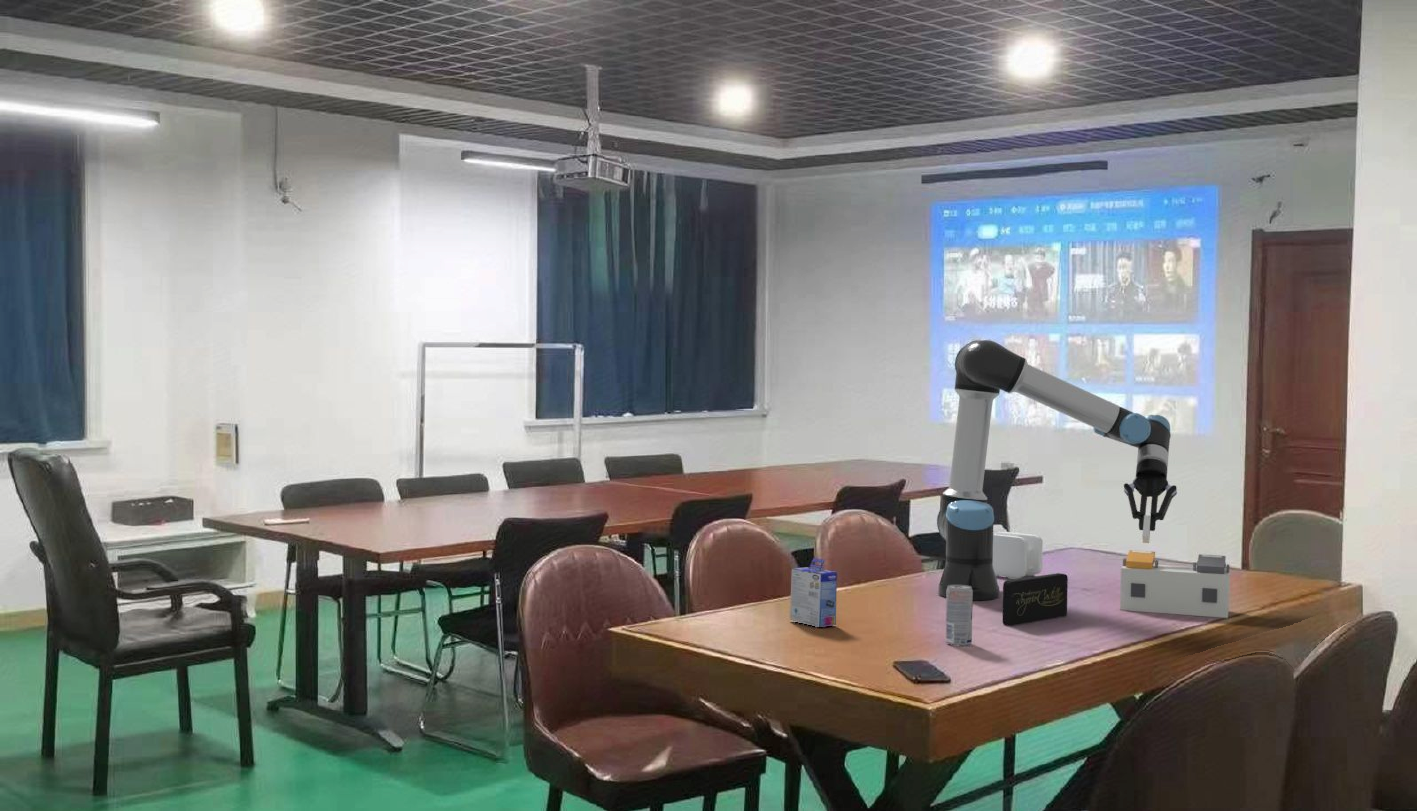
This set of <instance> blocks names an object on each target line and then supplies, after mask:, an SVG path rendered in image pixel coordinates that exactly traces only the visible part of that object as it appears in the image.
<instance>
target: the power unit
mask: <svg viewBox="0 0 1417 811" xmlns="http://www.w3.org/2000/svg"><path fill="white" fill-rule="evenodd" d="M1126 559H1127V557H1123V558H1122V566H1121V568H1120V596H1119V598H1120V600H1119V602H1120V604H1119V605H1120V606H1119V607H1120V609H1119V610H1120V611H1132V612H1144V613H1159V614H1171V615H1182V616H1183V615H1184V616H1193V617H1194V616H1198V617H1210V618H1221V619H1228V618H1229V612H1230V585H1231V584H1230V582H1231V581H1230V580H1231V579H1230V578H1231V576H1230V575H1231V571H1230V570H1231V569H1230V566H1231V565H1230V564H1227V563H1226V567H1225V571H1224V574H1219V573H1204V572H1197V561H1196V562H1193V563H1192V566H1181V565H1165V564H1159V559H1155V562H1154V564H1153V568H1152V569H1143V568H1128V567H1126Z"/></svg>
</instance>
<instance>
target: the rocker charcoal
mask: <svg viewBox="0 0 1417 811" xmlns="http://www.w3.org/2000/svg"><path fill="white" fill-rule="evenodd" d="M1196 567H1197V572H1204V573H1219V574H1224V571H1225V569H1226V567H1227V563H1226V555H1215V554H1213V555H1212V554H1201V553H1200V554H1198V558H1197V561H1196Z"/></svg>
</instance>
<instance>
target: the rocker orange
mask: <svg viewBox="0 0 1417 811" xmlns="http://www.w3.org/2000/svg"><path fill="white" fill-rule="evenodd" d="M1155 560H1156V551H1153V550H1151V551H1150V550H1149V551H1148V550H1133V549H1128V554H1127V556H1126V567H1128V568H1143V569H1152V568H1153V564H1154V565H1155Z"/></svg>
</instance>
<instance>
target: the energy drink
mask: <svg viewBox="0 0 1417 811" xmlns="http://www.w3.org/2000/svg"><path fill="white" fill-rule="evenodd" d="M972 599H973V591H972V587H971V586H967V585H948V588H947V590H946V597H945V601H946V603H945V608H946V609H945V643H946V644H947V643H948V644H952V645H959V646H958V647H966V646H965V645H969V646H971V645H972V643H973V641H972V640H973V639H972V638H973V600H972ZM948 644H947V645H948ZM952 645H951V646H952Z"/></svg>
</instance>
